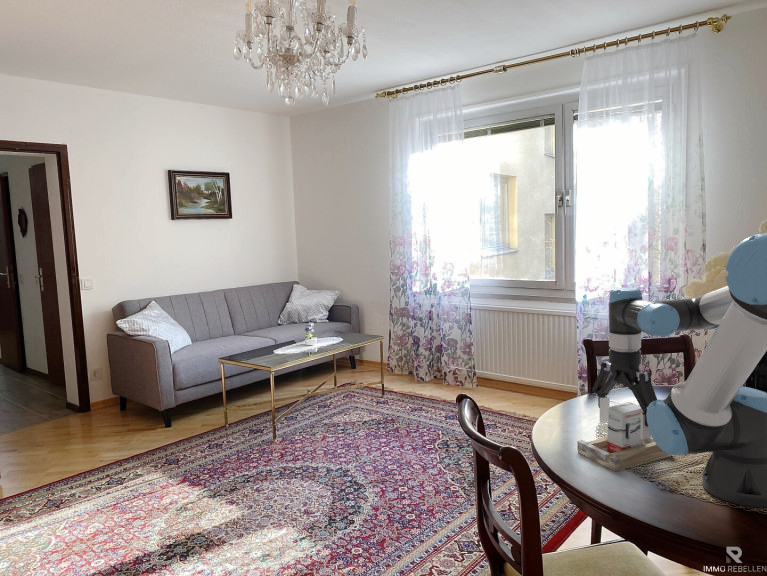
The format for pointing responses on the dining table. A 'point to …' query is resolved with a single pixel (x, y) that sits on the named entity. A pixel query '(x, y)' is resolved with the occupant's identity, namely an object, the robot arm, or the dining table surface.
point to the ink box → (624, 427)
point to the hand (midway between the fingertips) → (624, 429)
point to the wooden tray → (621, 453)
